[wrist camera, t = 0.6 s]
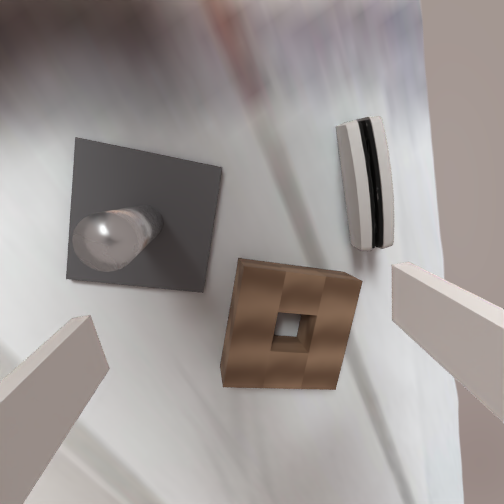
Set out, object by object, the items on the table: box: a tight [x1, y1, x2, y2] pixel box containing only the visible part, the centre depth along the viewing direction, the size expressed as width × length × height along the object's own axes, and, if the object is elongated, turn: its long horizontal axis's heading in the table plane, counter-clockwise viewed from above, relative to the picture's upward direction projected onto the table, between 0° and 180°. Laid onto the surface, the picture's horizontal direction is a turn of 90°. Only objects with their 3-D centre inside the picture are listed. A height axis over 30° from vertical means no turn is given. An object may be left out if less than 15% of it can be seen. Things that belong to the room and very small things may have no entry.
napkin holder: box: [336, 116, 394, 251], centre depth 34 cm, size 17×5×10 cm, turn 12°
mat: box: [66, 137, 222, 292], centre depth 33 cm, size 16×16×1 cm
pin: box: [72, 205, 163, 272], centre depth 25 cm, size 4×4×15 cm
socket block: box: [220, 258, 362, 390], centre depth 38 cm, size 16×16×4 cm
